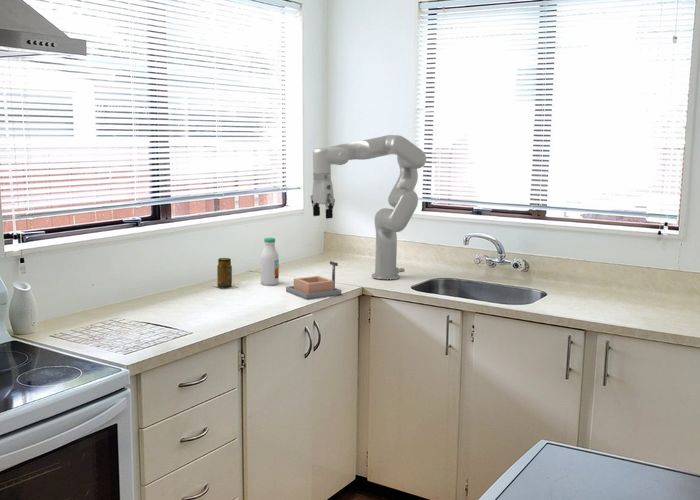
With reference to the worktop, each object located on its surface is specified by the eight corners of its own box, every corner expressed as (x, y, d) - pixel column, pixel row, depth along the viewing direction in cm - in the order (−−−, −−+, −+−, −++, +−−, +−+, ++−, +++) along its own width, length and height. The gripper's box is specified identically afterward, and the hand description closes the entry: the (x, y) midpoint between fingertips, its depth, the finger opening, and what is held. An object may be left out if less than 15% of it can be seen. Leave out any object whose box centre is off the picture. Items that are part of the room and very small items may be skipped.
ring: (318, 287, 322) (318, 275, 321) (333, 292, 312) (333, 281, 312) (293, 290, 316) (293, 278, 315) (308, 296, 306) (308, 284, 305)
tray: (320, 287, 325) (320, 282, 325) (341, 294, 311) (341, 290, 311) (285, 291, 316) (285, 286, 315) (306, 299, 302) (306, 294, 302)
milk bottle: (270, 286, 325) (270, 240, 322) (257, 283, 329) (256, 238, 326) (282, 283, 331) (282, 238, 328) (269, 281, 336) (269, 236, 332)
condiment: (227, 284, 328) (227, 256, 326) (238, 287, 322) (237, 259, 320) (212, 286, 324) (212, 258, 322) (222, 289, 317) (222, 261, 315)
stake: (331, 286, 326) (331, 261, 324) (337, 289, 322) (338, 263, 320) (329, 287, 325) (329, 261, 324) (335, 289, 321) (335, 263, 319)
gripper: (340, 178, 321) (341, 218, 324) (318, 175, 335) (319, 214, 338) (326, 179, 317) (326, 220, 320) (303, 176, 330) (304, 215, 333)
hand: (322, 217), depth 329 cm, fingers open, 9 cm apart
